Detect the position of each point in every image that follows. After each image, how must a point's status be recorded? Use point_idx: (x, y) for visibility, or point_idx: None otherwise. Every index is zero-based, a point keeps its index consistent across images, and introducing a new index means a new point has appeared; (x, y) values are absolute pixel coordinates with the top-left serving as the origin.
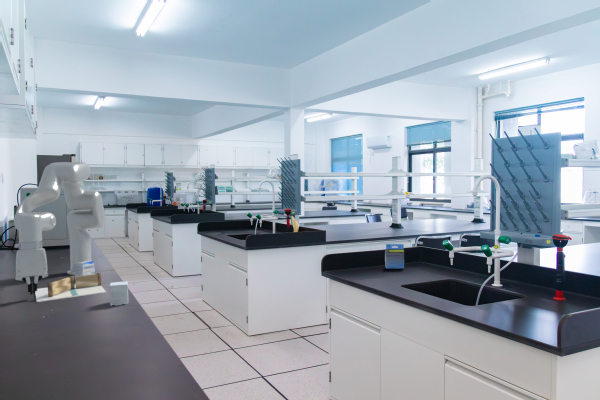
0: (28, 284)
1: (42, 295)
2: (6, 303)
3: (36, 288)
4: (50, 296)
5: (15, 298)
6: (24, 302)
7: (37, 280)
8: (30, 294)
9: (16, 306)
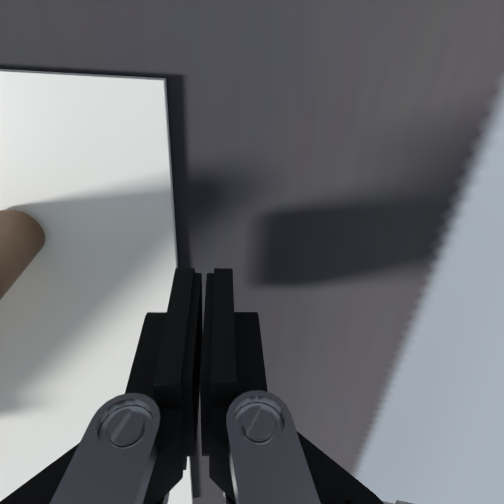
0: (258, 401)
1: (122, 333)
2: (434, 252)
3: (149, 336)
4: (8, 210)
5: (329, 374)
6: (294, 184)
7: (85, 452)
8: (230, 270)
9: (414, 8)
